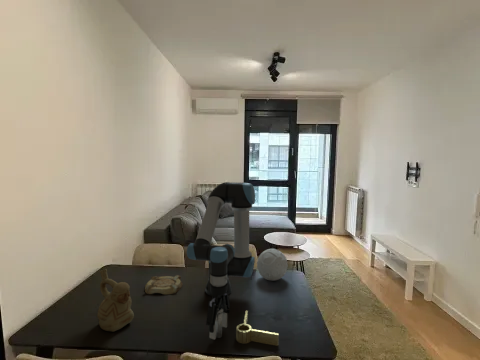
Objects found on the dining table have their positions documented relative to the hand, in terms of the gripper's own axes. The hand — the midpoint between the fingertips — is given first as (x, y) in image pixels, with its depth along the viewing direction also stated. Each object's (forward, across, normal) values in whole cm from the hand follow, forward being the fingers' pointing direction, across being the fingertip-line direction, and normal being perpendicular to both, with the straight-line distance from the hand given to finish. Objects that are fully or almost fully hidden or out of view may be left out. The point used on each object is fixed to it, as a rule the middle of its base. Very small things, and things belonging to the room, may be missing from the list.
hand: (218, 332), depth 134 cm
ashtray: (+2, +28, +54) cm, 61 cm away
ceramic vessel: (+2, -14, +48) cm, 50 cm away
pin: (+2, 0, 0) cm, 2 cm away
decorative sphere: (+2, +69, 0) cm, 69 cm away
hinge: (+2, +9, -16) cm, 18 cm away
